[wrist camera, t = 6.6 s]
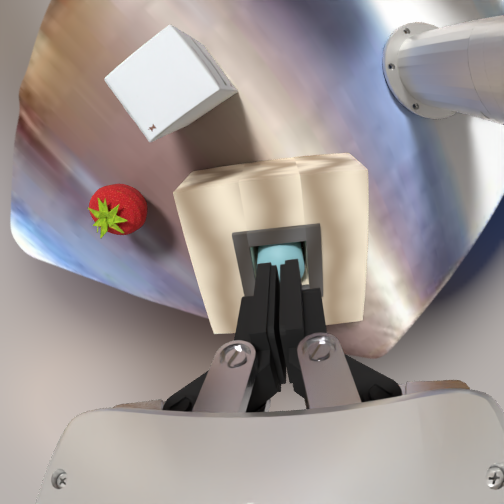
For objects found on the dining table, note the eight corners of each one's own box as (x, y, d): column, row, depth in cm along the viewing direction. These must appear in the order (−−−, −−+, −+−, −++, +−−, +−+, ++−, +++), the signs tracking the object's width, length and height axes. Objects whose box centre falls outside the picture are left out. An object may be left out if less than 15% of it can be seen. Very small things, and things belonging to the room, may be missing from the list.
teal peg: (297, 217, 36) (302, 245, 30) (301, 253, 39) (305, 285, 33) (256, 222, 37) (253, 250, 31) (262, 257, 40) (260, 290, 34)
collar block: (348, 152, 34) (369, 171, 26) (350, 283, 43) (363, 323, 36) (192, 171, 36) (171, 194, 29) (222, 296, 45) (213, 337, 38)
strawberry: (157, 220, 40) (128, 259, 31) (109, 207, 39) (71, 240, 30) (164, 180, 37) (133, 210, 28) (113, 167, 36) (71, 193, 28)
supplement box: (240, 91, 31) (223, 91, 20) (187, 126, 33) (147, 146, 22) (205, 43, 28) (171, 21, 17) (154, 79, 30) (100, 79, 20)
